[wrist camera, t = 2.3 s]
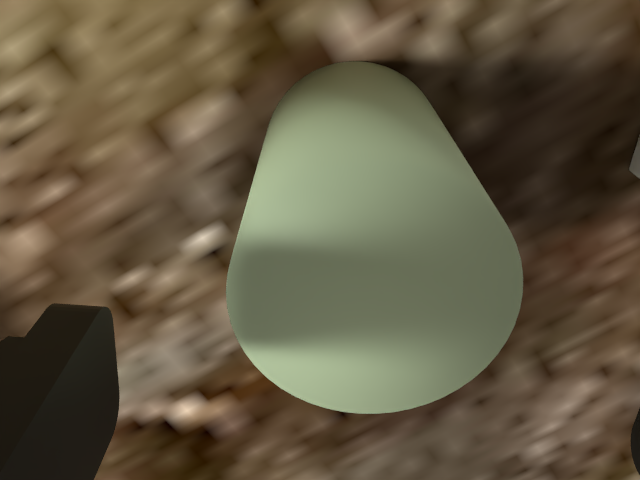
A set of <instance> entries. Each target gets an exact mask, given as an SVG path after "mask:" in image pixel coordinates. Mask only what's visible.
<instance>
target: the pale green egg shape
mask: <svg viewBox="0 0 640 480" xmlns="http://www.w3.org/2000/svg"><path fill="white" fill-rule="evenodd" d="M522 294H523V272H522V264H521V258H520V255H519V252H518V248H517V245H516V242H515V240H514V238H513V236H512V234H511V232H510V230H509V228H508V226H507V224H506V223H505V221H504V220H503V218H502V216H501V215H500V213H499V212H498V210H497V208H496V207H495V205H494V204H493V202H492V201H491V199H490V197H489V196H488V194H487V193H486V191H485V189H484V188H483V186H482V185H481V183H480V182H479V180H478V178H477V177H476V175H475V174H474V172H473V170H472V169H471V167H470V166H469V164H468V163H467V161H466V159H465V158H464V156H463V155H462V153H461V151H460V150H459V148H458V147H457V145H456V143H455V142H454V140H453V139H452V137H451V136H450V134H449V132H448V131H447V129H446V128H445V126H444V124H443V123H442V121H441V120H440V118H439V117H438V115H437V113H436V112H435V110H434V109H433V107H432V105H431V104H430V102H429V101H428V99H427V98H426V96H425V95H424V94H423V92H422V91H421V90H420V89H419V88H418V87H417V86H416V85H415V84H414V83H413V82H412V81H410V80H409V79H408V78H407V77H405V76H403V75H402V74H400V73H399V72H397V71H395V70H393V69H390V68H388V67H386V66H382V65H379V64H375V63H370V62H362V61H349V62H341V63H335V64H332V65H328V66H325V67H322V68H320V69H318V70H315V71H313V72H311V73H310V74H308V75H306V76H305V77H303V78H302V79H301V80H299V81H298V82H297V83H295V84H294V85H293V86H292V87H291V88H290V89H289V90H288V91H287V92H286V94H285V95H284V96H283V98H282V99H281V100H280V102H279V103H278V105H277V107H276V109H275V111H274V112H273V115H272V118H271V120H270V123H269V126H268V130H267V133H266V137H265V140H264V144H263V147H262V151H261V155H260V158H259V162H258V165H257V169H256V172H255V176H254V179H253V183H252V186H251V190H250V194H249V197H248V201H247V204H246V208H245V211H244V215H243V218H242V222H241V225H240V229H239V232H238V236H237V240H236V243H235V247H234V250H233V254H232V257H231V261H230V266H229V270H228V274H227V286H226V298H227V309H228V313H229V317H230V322H231V325H232V328H233V330H234V333H235V335H236V338H237V340H238V342H239V343H240V345H241V347H242V349H243V350H244V352H245V354H246V355H247V356H248V357H249V359H250V360H251V361H252V363H253V364H254V365H255V366H256V367H257V368H258V369H259V370H260V371H261V372H262V373H263V374H264V375H265V376H266V377H267V378H268V379H269V380H271V381H272V382H273V383H275V384H276V385H277V386H278V387H280V388H282V389H283V390H285V391H287V392H288V393H290V394H292V395H293V396H295V397H297V398H300V399H302V400H304V401H306V402H309V403H311V404H314V405H317V406H321V407H324V408H327V409H332V410H337V411H341V412H350V413H360V414H378V413H389V412H397V411H402V410H407V409H412V408H415V407H418V406H422V405H425V404H428V403H431V402H433V401H435V400H438V399H440V398H442V397H445V396H446V395H448V394H450V393H452V392H454V391H456V390H457V389H459V388H461V387H462V386H463V385H465V384H466V383H468V382H469V381H471V380H472V379H473V378H475V377H476V376H477V375H478V374H479V373H480V372H481V371H482V370H484V369H485V368H486V367H487V366H488V365H489V363H490V362H491V361H492V360H493V359H494V358H495V357H496V355H497V354H498V353H499V351H500V350H501V348H502V347H503V346H504V344H505V343H506V341H507V339H508V337H509V335H510V333H511V331H512V329H513V327H514V325H515V322H516V319H517V316H518V313H519V310H520V306H521V300H522Z"/></svg>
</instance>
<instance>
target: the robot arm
mask: <svg viewBox="0 0 640 480" xmlns="http://www.w3.org/2000/svg"><path fill="white" fill-rule="evenodd" d="M118 410H119V383H118V372H117V361H116V349H115V338H114V327H113V318H112V314H111V311H110V310H109V308H107V307H100V306H85V305H70V304H55V303H54V304H51V305H50V306H49V307H48V308H47V309H46V310H45V311H44V313H43V314H42V315H41V317H40V318H39V319H38V321H37V322H36V323H35V324H34V326H33V327H32V328H31V330H30V331H29V332H28V334H27V335H26V336H25V337H10V336H8V337H7V338H5V339H4V340H2V341H1V342H0V480H94V478H95V475H96V473H97V471H98V469H99V466H100V464H101V462H102V459H103V457H104V455H105V452H106V450H107V448H108V445H109V443H110V441H111V438H112V436H113V433H114V430H115V426H116V422H117V417H118ZM631 451H632V457H633V461H634V464H635V466H636V469H637V471H638V473H639V475H640V409H639V412H638V414H637V417H636V419H635V422H634V425H633V428H632V433H631Z"/></svg>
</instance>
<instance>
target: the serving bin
mask: <svg viewBox="0 0 640 480" xmlns="http://www.w3.org/2000/svg"><path fill="white" fill-rule="evenodd" d="M629 171H630V172H632V173H633V174H634V175H636V176H637V177H638V178H640V135H639V138H638V141H637V145H636V148H635V151H634V154H633V157H632V161H631V164H630V167H629Z"/></svg>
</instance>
